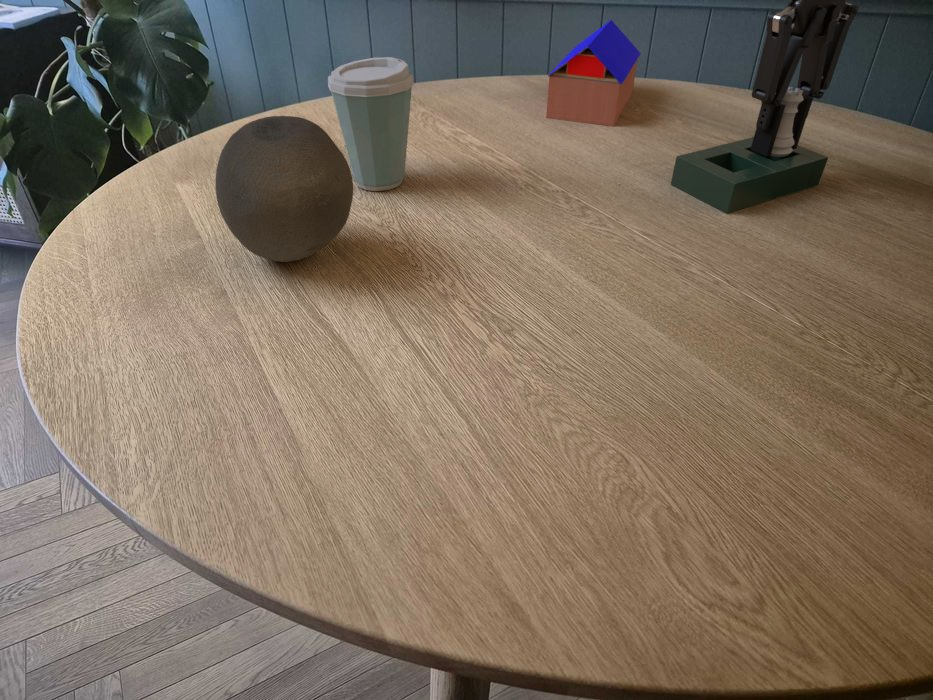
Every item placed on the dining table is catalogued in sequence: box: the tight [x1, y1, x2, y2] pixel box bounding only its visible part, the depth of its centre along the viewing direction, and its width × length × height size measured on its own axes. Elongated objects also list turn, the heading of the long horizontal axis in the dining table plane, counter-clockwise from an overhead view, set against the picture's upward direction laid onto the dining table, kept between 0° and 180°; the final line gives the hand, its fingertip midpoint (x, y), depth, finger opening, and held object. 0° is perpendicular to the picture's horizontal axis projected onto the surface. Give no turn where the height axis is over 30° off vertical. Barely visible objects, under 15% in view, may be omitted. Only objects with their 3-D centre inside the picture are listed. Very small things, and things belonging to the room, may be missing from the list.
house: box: [545, 19, 641, 127], centre depth 112 cm, size 12×20×12 cm, turn 160°
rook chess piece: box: [771, 86, 804, 157], centre depth 86 cm, size 4×4×8 cm
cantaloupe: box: [215, 115, 354, 263], centre depth 69 cm, size 14×14×15 cm
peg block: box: [670, 136, 829, 214], centre depth 88 cm, size 18×10×4 cm, turn 120°
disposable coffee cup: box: [327, 56, 415, 192], centre depth 85 cm, size 11×11×15 cm
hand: (773, 148), depth 88 cm, fingers closed on rook chess piece, 4 cm apart
